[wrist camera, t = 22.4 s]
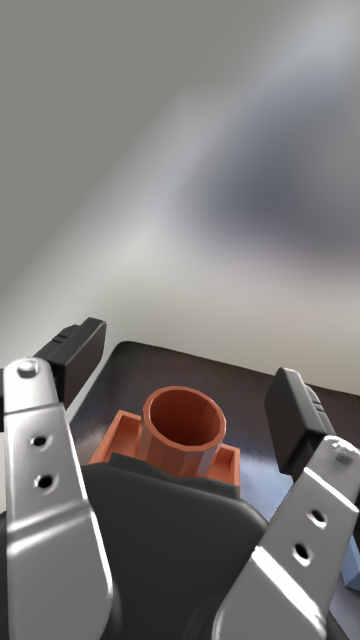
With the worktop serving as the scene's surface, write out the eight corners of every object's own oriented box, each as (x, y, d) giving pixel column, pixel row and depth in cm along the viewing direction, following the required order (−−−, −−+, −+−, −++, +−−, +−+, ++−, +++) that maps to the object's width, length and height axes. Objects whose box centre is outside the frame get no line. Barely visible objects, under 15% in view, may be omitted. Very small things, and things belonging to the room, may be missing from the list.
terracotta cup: (112, 525, 23) (130, 433, 18) (138, 461, 28) (157, 377, 24) (185, 552, 22) (223, 464, 17) (196, 481, 28) (227, 399, 23)
